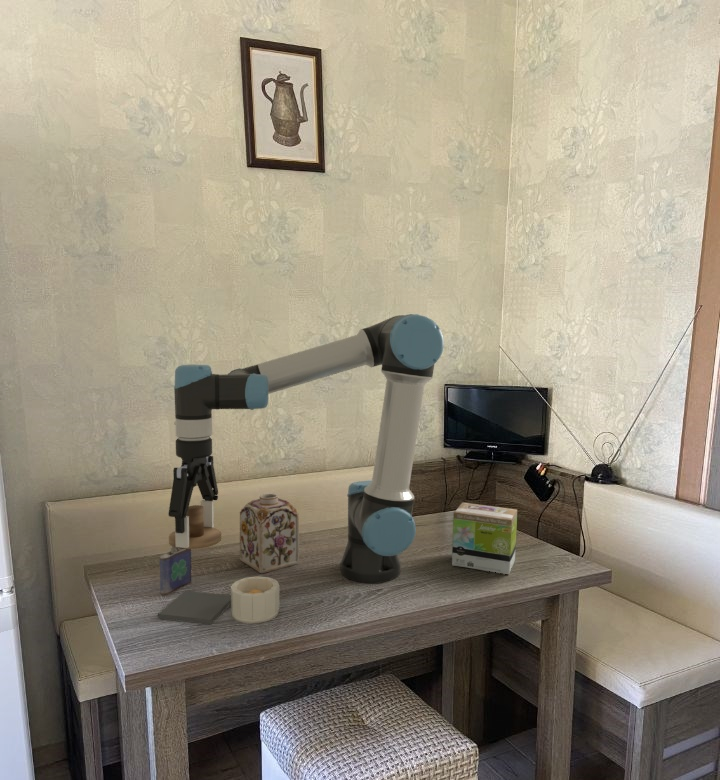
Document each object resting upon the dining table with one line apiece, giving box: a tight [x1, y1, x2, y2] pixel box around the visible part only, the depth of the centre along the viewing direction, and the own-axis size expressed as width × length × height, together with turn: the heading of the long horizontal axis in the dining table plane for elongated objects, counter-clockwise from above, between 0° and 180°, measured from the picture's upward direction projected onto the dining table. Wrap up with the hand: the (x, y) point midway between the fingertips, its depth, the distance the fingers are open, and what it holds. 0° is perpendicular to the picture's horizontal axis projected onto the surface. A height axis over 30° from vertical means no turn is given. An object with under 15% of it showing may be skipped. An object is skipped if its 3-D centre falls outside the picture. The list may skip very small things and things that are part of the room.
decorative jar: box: [239, 493, 300, 574], centre depth 163 cm, size 12×12×18 cm
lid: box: [168, 504, 222, 550], centre depth 135 cm, size 11×11×7 cm
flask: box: [159, 544, 192, 597], centre depth 147 cm, size 9×3×11 cm, turn 151°
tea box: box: [451, 502, 518, 575], centre depth 163 cm, size 15×10×15 cm, turn 68°
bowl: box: [230, 576, 280, 625], centre depth 135 cm, size 10×10×6 cm
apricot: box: [249, 590, 262, 594], centre depth 135 cm, size 4×4×4 cm
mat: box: [158, 590, 231, 625], centre depth 137 cm, size 12×12×1 cm
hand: (195, 537), depth 135 cm, fingers closed on lid, 11 cm apart
